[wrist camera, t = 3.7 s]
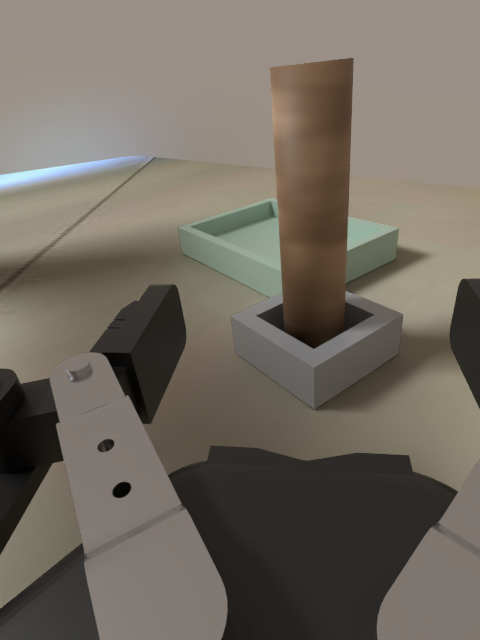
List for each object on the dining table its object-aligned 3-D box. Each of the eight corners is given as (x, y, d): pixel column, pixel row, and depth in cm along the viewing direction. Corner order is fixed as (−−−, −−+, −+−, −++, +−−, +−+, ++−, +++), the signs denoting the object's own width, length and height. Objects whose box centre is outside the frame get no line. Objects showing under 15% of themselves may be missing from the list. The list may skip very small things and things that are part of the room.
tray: (182, 253, 39) (177, 227, 37) (272, 221, 44) (271, 197, 43) (292, 309, 28) (291, 275, 27) (395, 258, 33) (398, 228, 32)
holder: (235, 352, 24) (230, 315, 23) (314, 312, 27) (313, 277, 26) (314, 409, 20) (313, 367, 18) (398, 353, 23) (403, 314, 21)
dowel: (274, 353, 24) (253, 69, 17) (314, 331, 25) (311, 62, 18) (314, 379, 22) (310, 63, 14) (355, 353, 23) (371, 55, 16)
